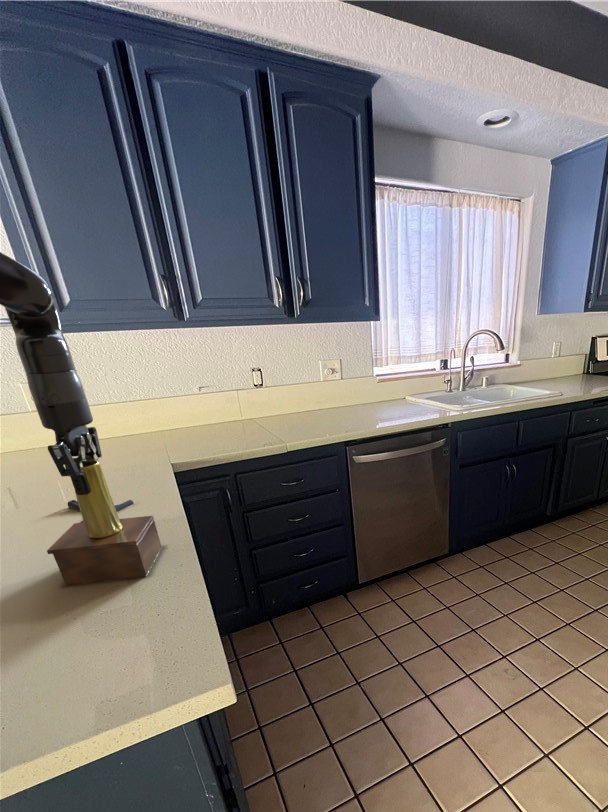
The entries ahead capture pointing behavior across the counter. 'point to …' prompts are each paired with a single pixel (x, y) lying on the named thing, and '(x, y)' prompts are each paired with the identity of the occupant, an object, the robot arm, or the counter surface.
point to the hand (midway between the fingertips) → (90, 487)
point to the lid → (80, 541)
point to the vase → (98, 504)
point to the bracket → (74, 505)
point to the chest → (110, 561)
